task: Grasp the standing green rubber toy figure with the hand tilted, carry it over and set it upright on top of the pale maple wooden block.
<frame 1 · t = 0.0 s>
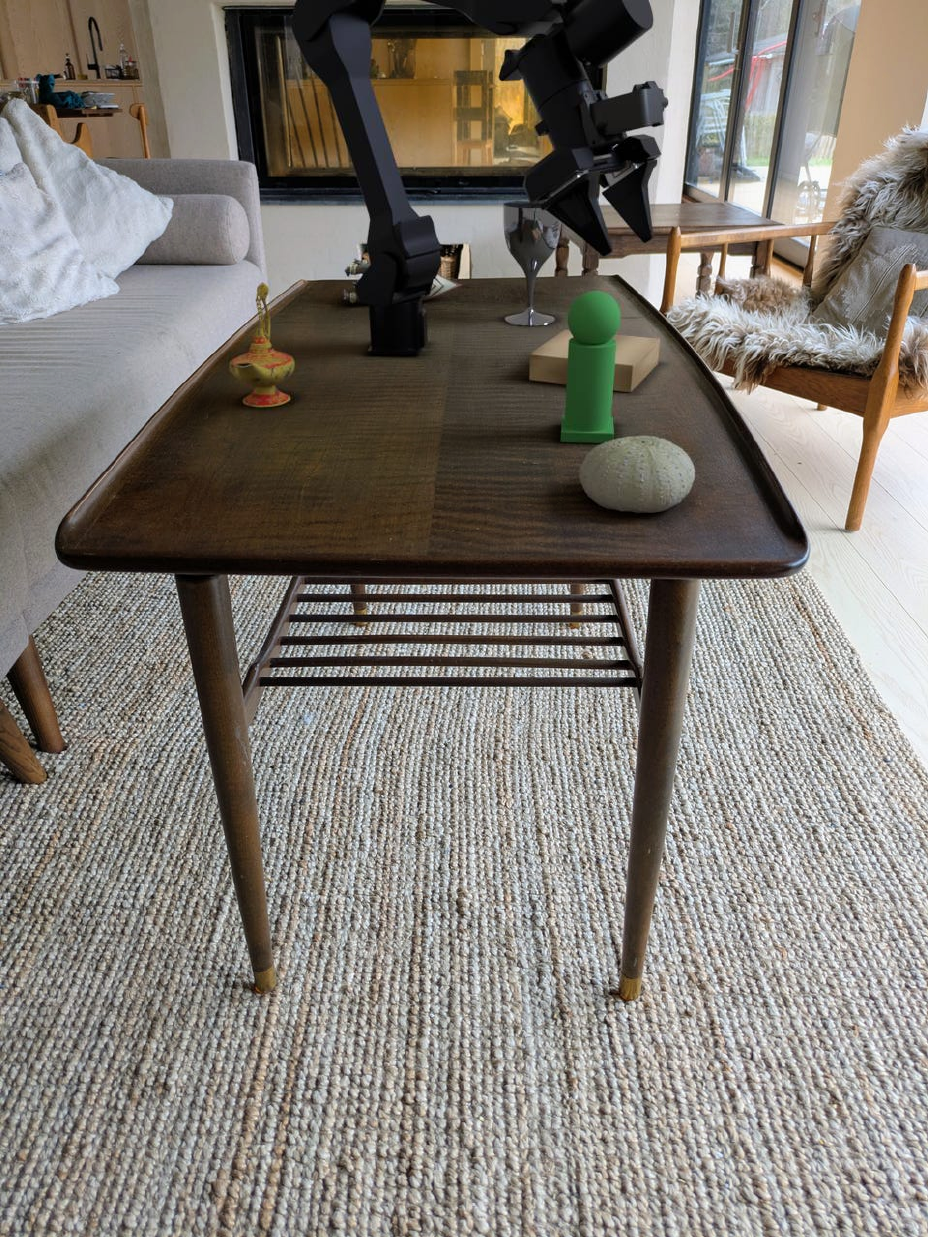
hand: (629, 247, 92), 15 cm above the table, tool tilted 35°, fingers open, 9 cm apart
wine glass: (529, 320, 128), on the table
magic lamp: (264, 406, 97), on the table
wooden block: (595, 371, 106), on the table
sea urchin shell: (634, 499, 75), on the table
figurine: (404, 301, 140), on the table
green toy: (586, 433, 88), on the table
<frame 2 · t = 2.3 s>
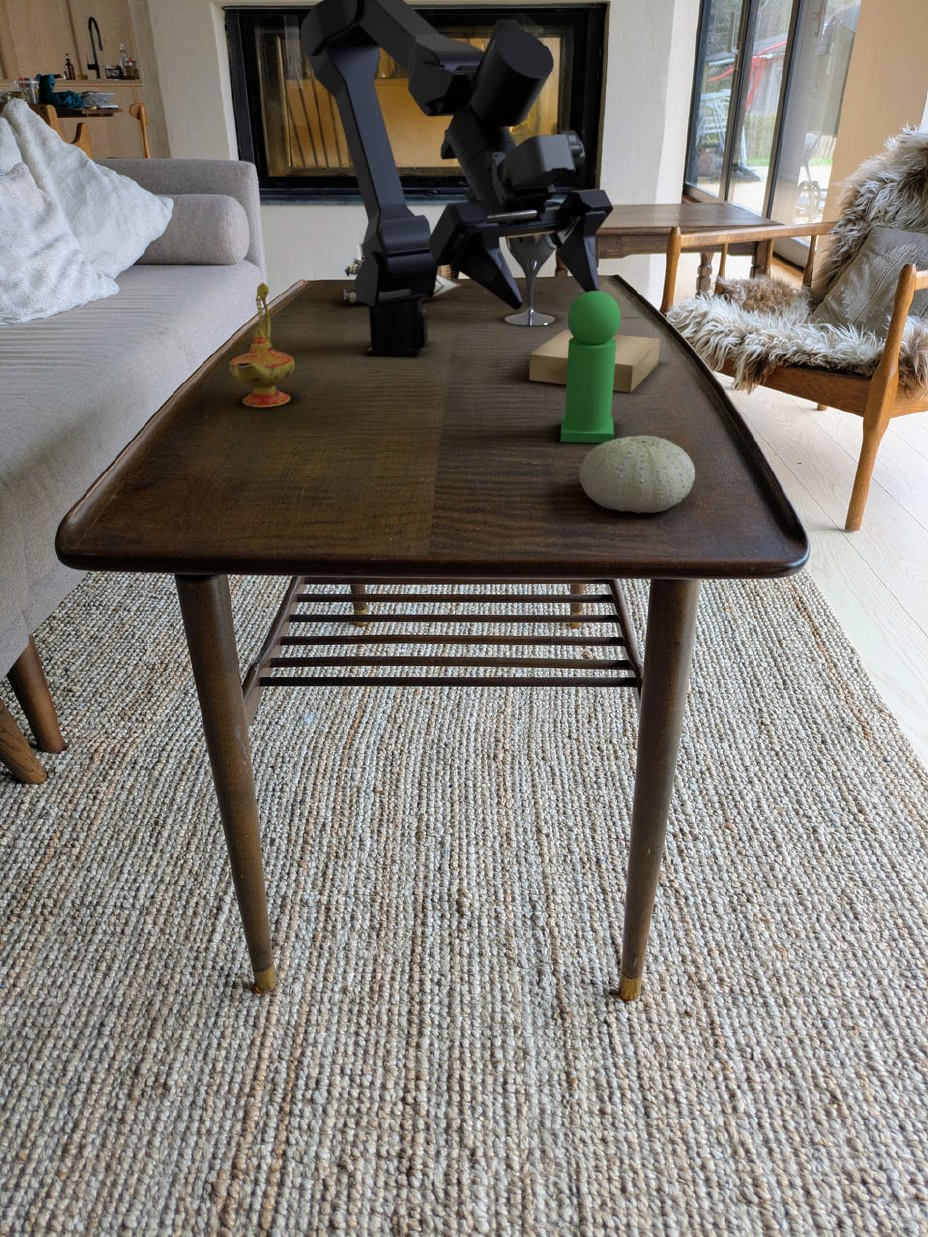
hand: (558, 300, 86), 12 cm above the table, tool tilted 45°, fingers open, 9 cm apart
nothing on the table moved.
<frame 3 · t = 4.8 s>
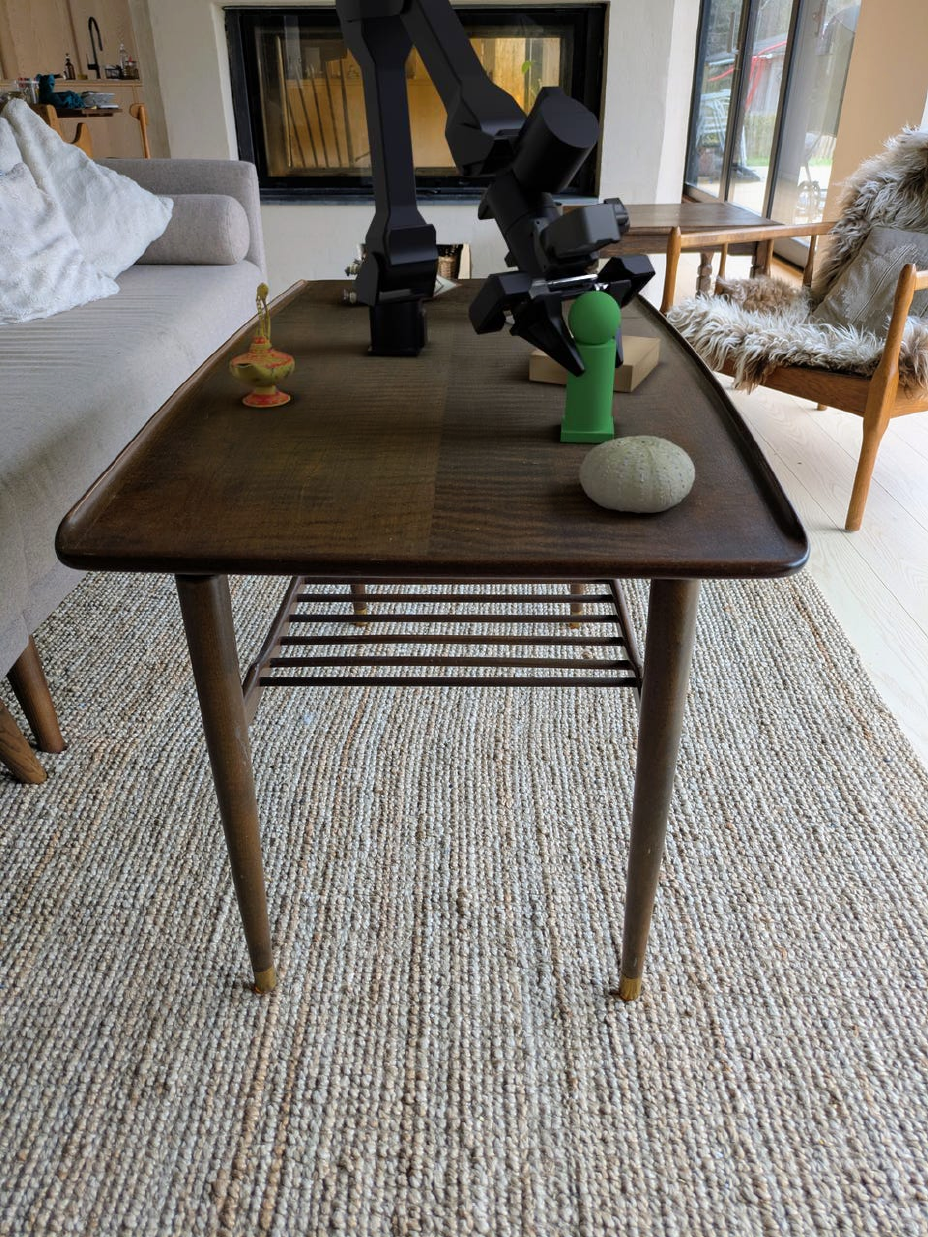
hand: (600, 370, 84), 7 cm above the table, tool tilted 45°, fingers closed on green toy, 4 cm apart
green toy: (586, 433, 88), on the table, touching gripper
everything else where it was.
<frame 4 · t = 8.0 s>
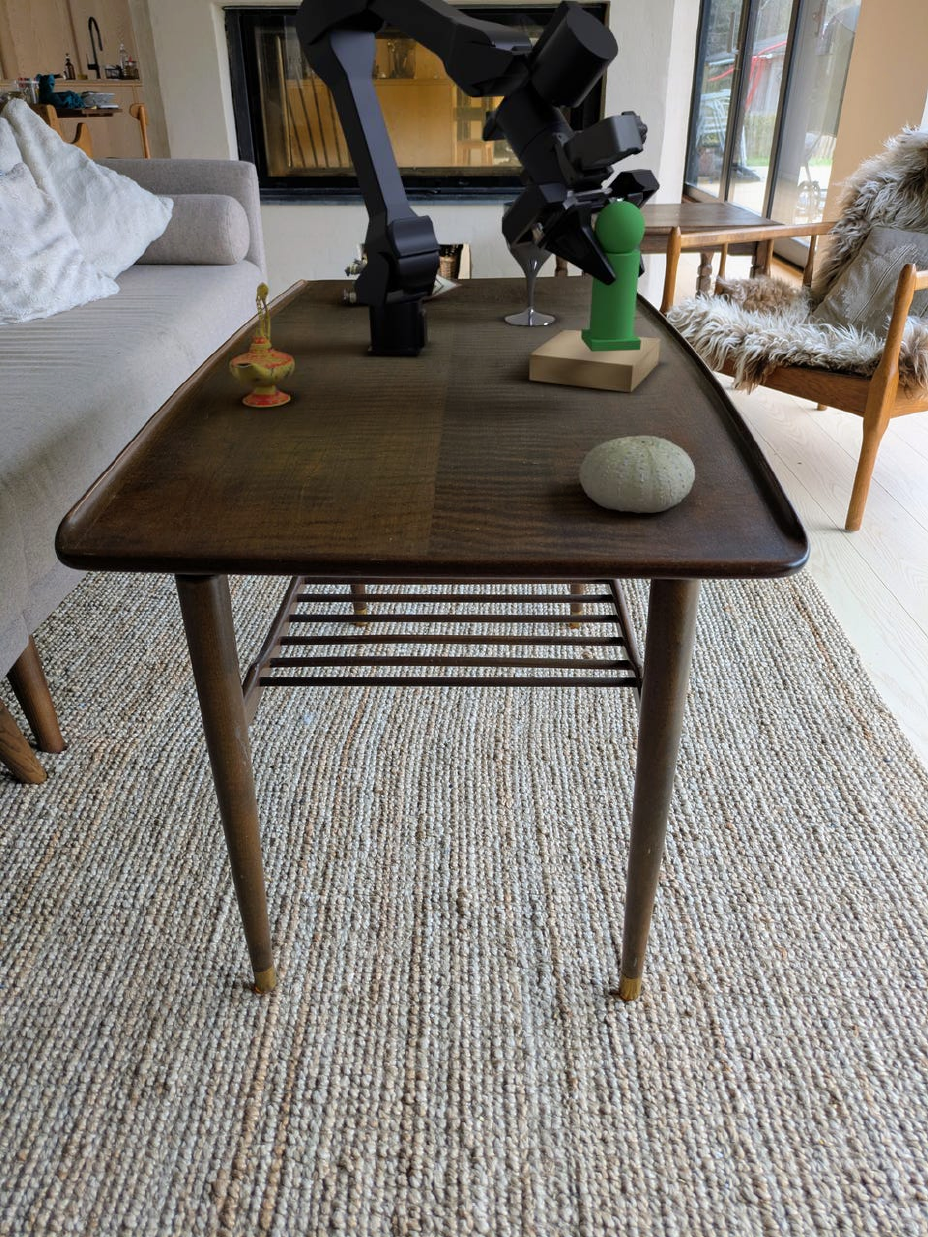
hand: (626, 278, 88), 13 cm above the table, tool tilted 45°, fingers closed on green toy, 4 cm apart
green toy: (610, 344, 92), point 6 cm above the table, touching gripper
everything else where it was.
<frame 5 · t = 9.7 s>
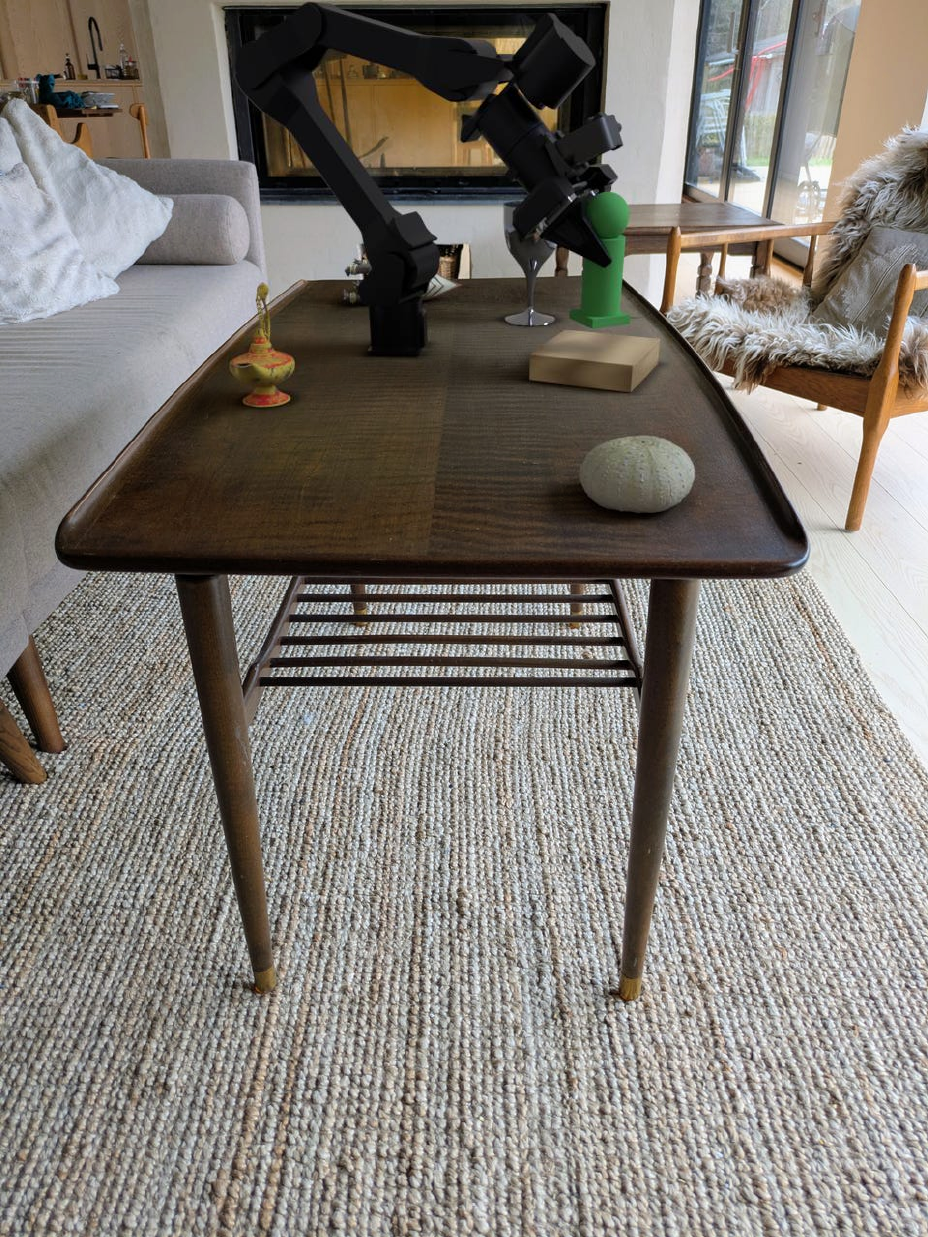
hand: (615, 260, 99), 12 cm above the table, tool tilted 45°, fingers closed on green toy, 4 cm apart
green toy: (599, 321, 103), point 6 cm above the table, touching gripper
everything else where it was.
when the fingers open (10 cm above the table, at t = 11.5 s): green toy stays where it is, resting on wooden block.
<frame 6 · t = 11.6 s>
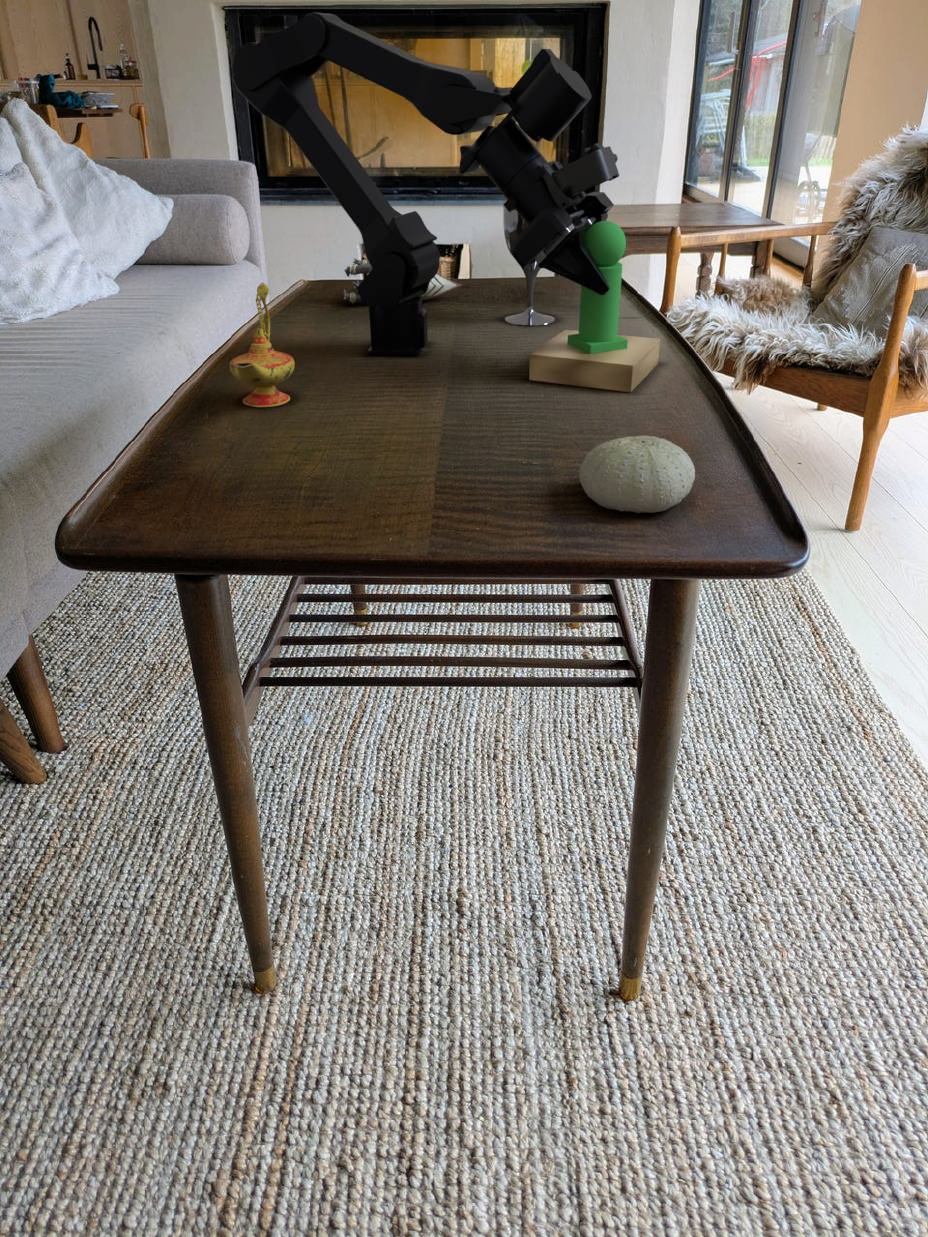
hand: (612, 287, 101), 10 cm above the table, tool tilted 45°, fingers open, 4 cm apart
green toy: (596, 345, 105), point 3 cm above the table, touching wooden block
everything else where it was.
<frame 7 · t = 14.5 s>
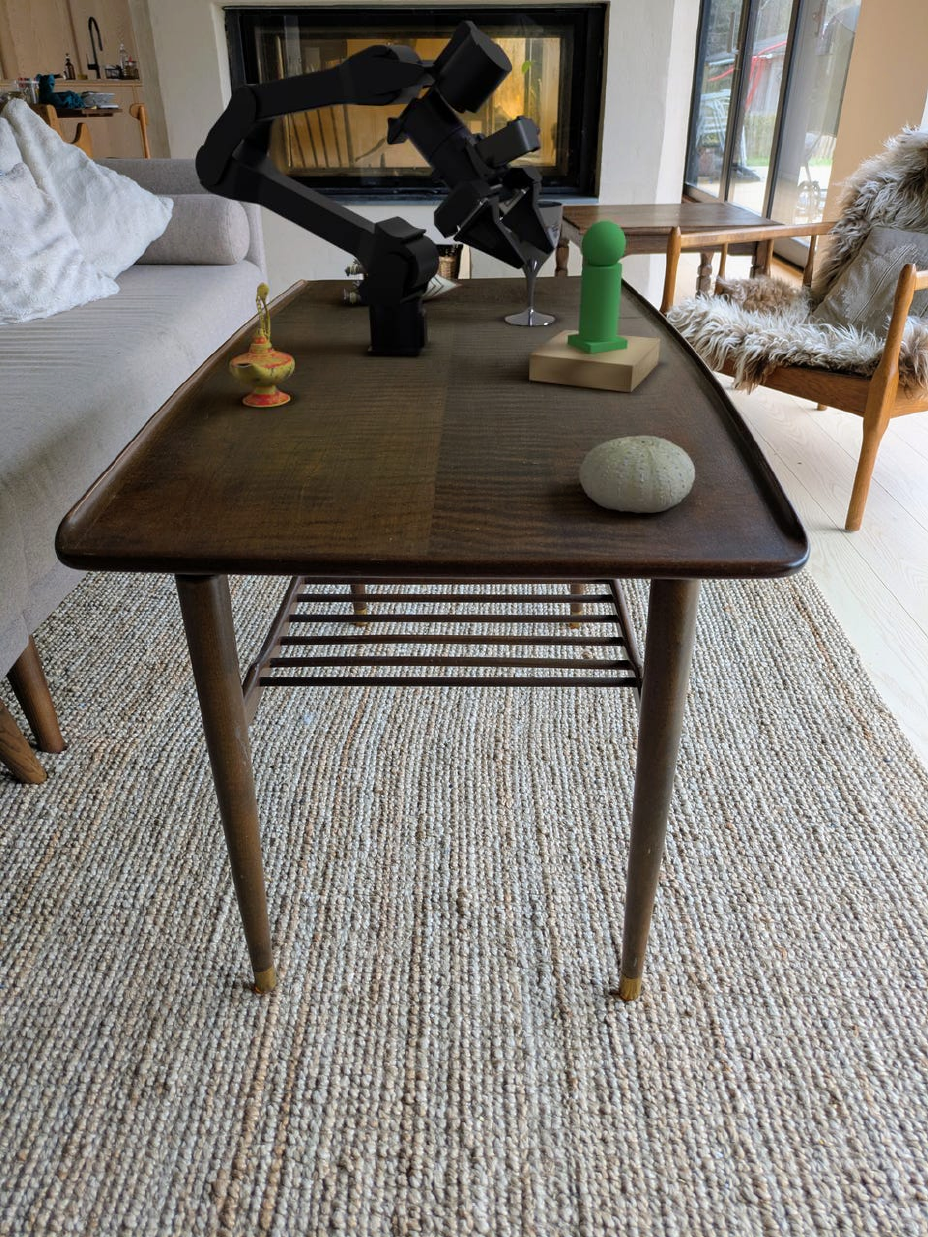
hand: (537, 258, 103), 12 cm above the table, tool tilted 45°, fingers open, 9 cm apart
nothing on the table moved.
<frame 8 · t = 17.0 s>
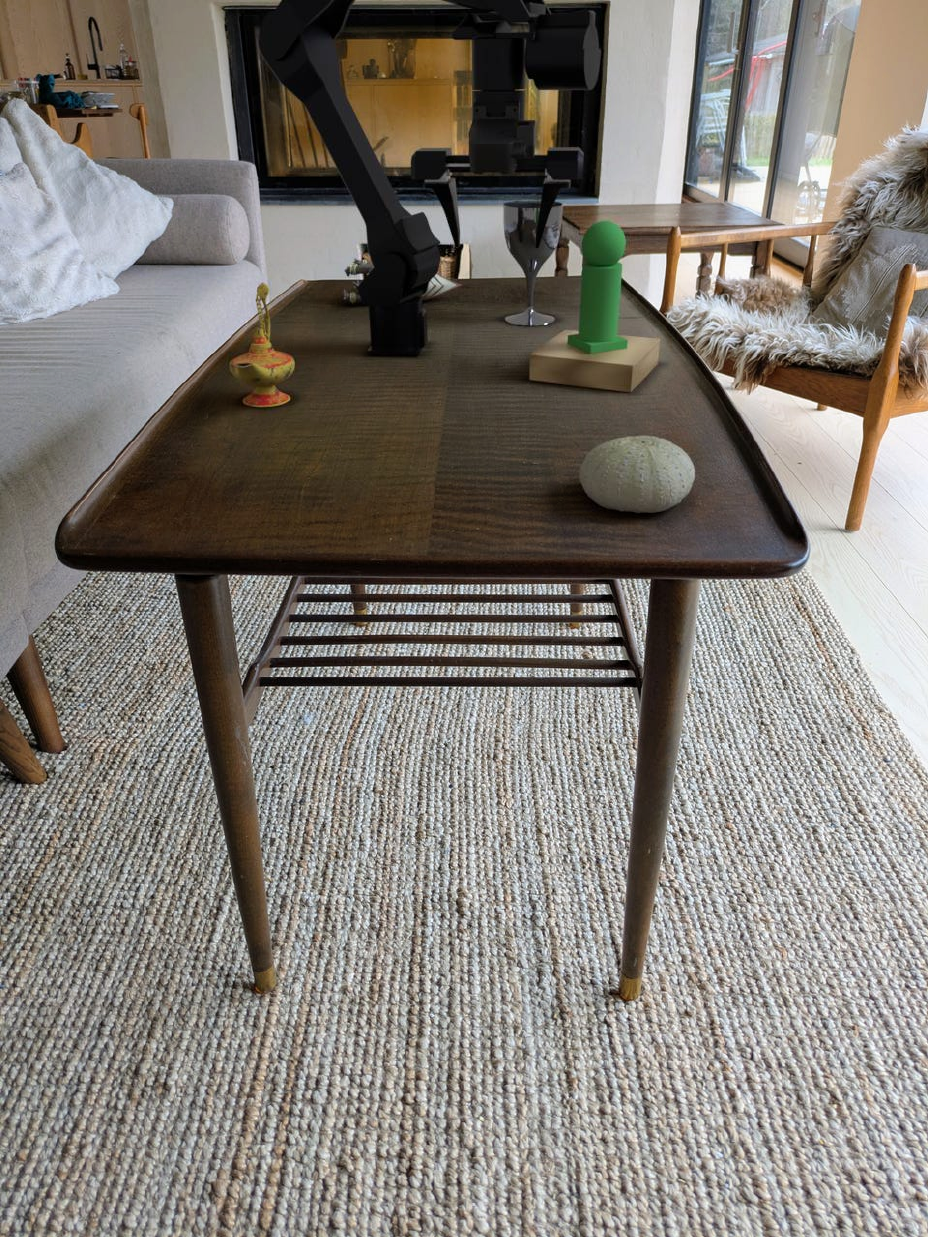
hand: (497, 247, 104), 13 cm above the table, tool pointing down, fingers open, 9 cm apart
nothing on the table moved.
at the end: green toy inside the target area on the wooden block (0.0 cm from its centre), point 3.0 cm above the wooden block's base; green toy tilted 0°; the gripper is holding nothing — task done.
